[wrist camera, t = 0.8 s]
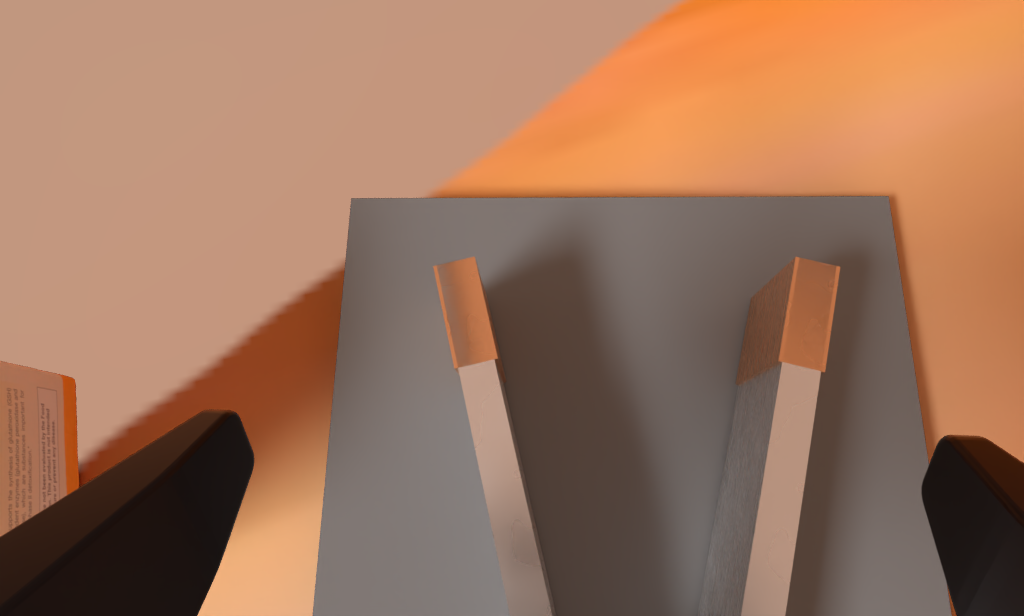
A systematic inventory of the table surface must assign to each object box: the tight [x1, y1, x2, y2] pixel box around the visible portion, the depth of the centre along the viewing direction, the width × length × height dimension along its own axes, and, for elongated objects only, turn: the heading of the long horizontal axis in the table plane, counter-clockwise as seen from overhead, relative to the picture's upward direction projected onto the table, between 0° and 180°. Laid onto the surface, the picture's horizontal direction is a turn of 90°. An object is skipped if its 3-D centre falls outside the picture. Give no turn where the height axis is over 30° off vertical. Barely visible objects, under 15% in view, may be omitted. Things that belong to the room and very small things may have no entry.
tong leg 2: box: [697, 257, 840, 616], centre depth 18 cm, size 14×1×4 cm, turn 165°
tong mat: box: [313, 196, 952, 616], centre depth 19 cm, size 22×19×5 cm
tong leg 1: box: [433, 257, 556, 616], centre depth 18 cm, size 14×1×4 cm, turn 13°
